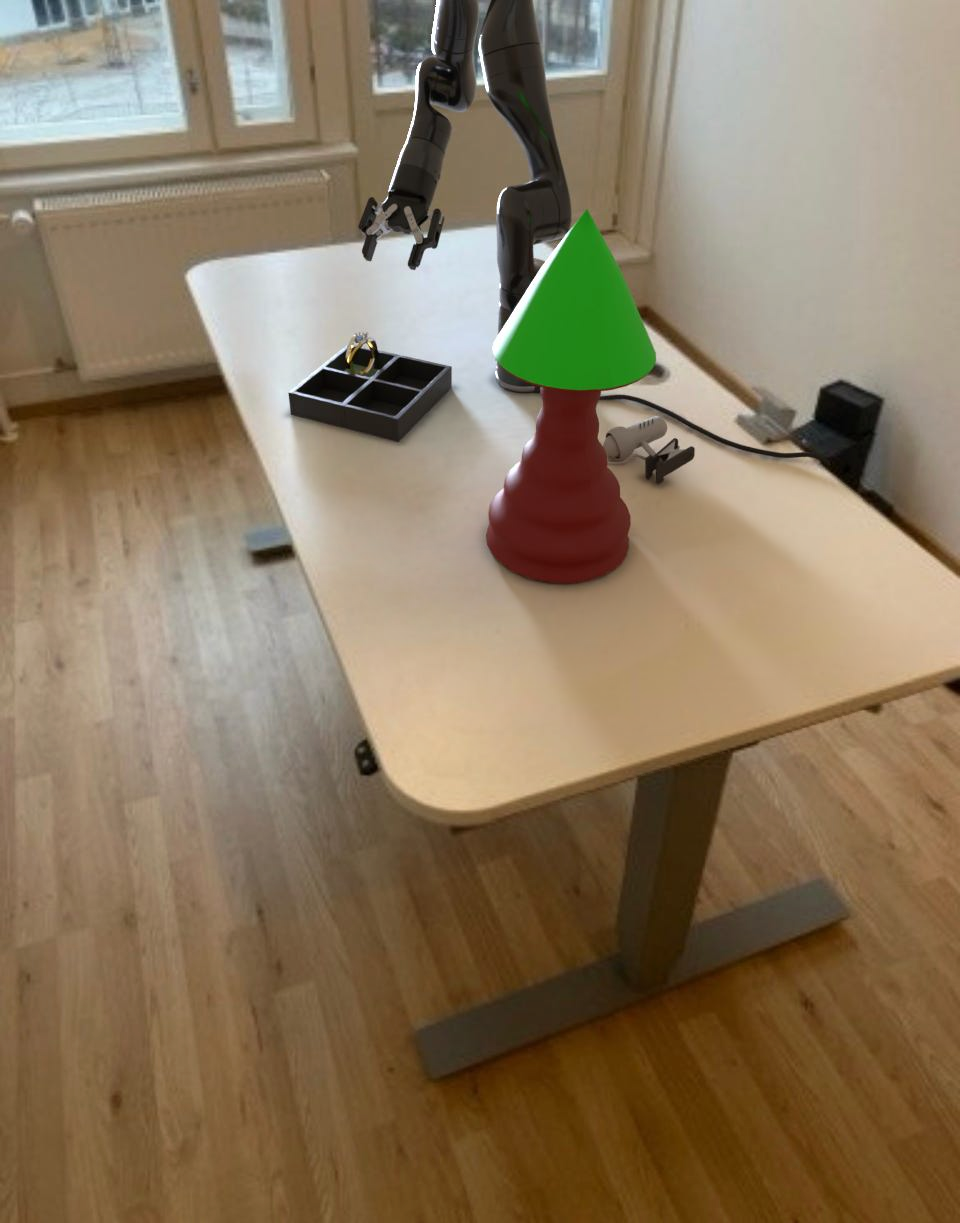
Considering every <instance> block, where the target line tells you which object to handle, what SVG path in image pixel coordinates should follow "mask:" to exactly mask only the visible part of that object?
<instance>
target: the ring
mask: <svg viewBox="0 0 960 1223" xmlns="http://www.w3.org/2000/svg"><path fill="white" fill-rule="evenodd" d="M355 344H356V345H357V346H356V347H355V349H354V350H353V352H352V348H353V345H355ZM365 344H367V347H368V348H370V351H371V359H370V363H369V365H368V367H367V368H366V369H365V370H364V371H360V373H358V374H357V375H361V376H367V375H368V374H369V373H370V372H371V371H372V370H373V368H374V366H375V364H376V361H377V356H378V350H379V349H378V345H377V342H376V339H375V338H374V337H371V336H369V332H367V331H366V332H365V331H362V332H361V331H358V333H357V332H354V334H353V335H352V336H351V337H350V340H349V342H348V344H347V345H348V347H347V352H346V368H347V370H348V372H349V373H353V374H356V373H355V372H354V369H353V362H354V359H355V357H356V355H357V353H358V351H359V350H360V348H361V347H364V345H365ZM351 352H352V353H351Z"/></svg>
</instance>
